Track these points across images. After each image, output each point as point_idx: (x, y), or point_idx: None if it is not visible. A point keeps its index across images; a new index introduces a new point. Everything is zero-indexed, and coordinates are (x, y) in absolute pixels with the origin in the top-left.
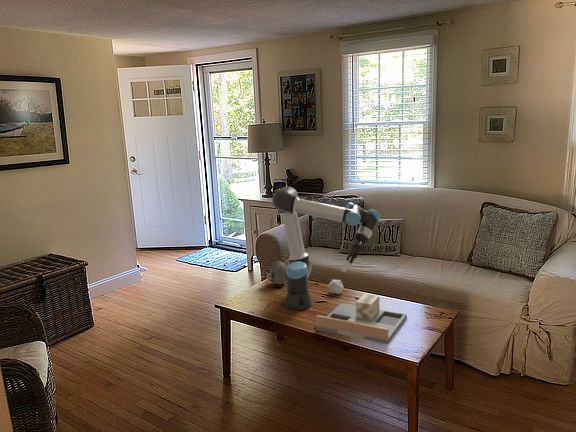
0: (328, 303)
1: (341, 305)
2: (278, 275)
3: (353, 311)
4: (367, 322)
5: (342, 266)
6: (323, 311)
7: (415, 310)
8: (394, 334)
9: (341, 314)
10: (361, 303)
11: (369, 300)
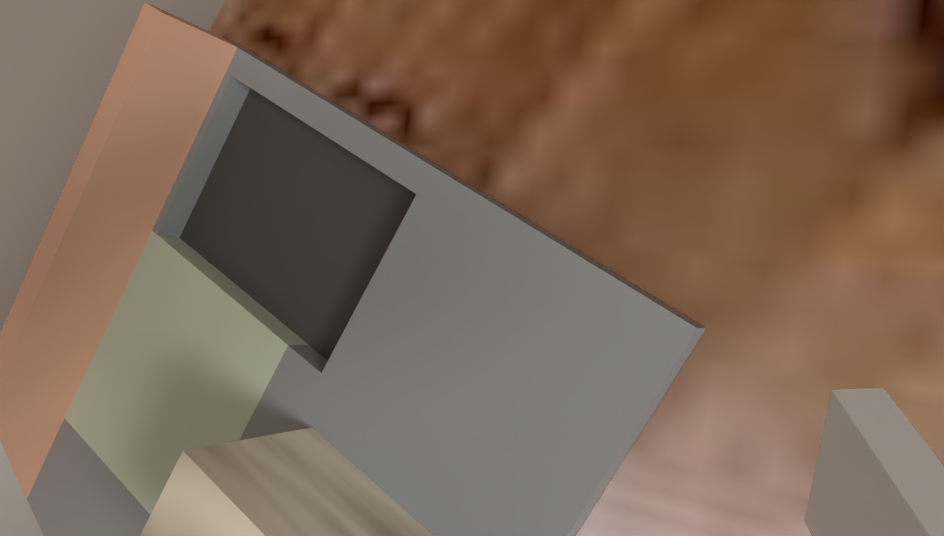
0: (851, 159)
1: (616, 318)
2: None
3: (431, 431)
4: None
5: (931, 501)
6: (592, 96)
7: None
8: None
9: (382, 284)
10: (157, 511)
11: None
